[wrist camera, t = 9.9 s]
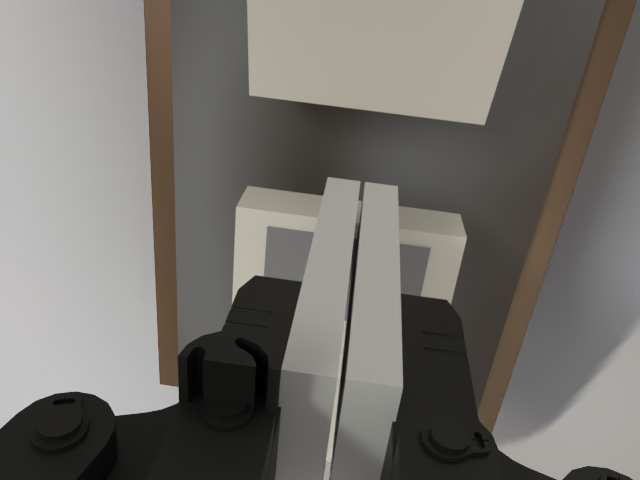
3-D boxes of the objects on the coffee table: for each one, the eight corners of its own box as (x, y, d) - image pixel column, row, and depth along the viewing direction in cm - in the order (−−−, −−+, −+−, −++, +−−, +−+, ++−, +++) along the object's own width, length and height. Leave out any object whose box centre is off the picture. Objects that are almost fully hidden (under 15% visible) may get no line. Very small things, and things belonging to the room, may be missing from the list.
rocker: (236, 414, 19) (225, 447, 18) (247, 185, 16) (235, 207, 14) (407, 439, 19) (409, 475, 18) (460, 214, 15) (467, 238, 14)
